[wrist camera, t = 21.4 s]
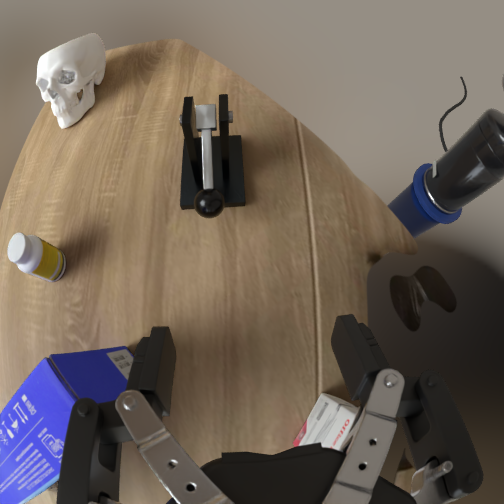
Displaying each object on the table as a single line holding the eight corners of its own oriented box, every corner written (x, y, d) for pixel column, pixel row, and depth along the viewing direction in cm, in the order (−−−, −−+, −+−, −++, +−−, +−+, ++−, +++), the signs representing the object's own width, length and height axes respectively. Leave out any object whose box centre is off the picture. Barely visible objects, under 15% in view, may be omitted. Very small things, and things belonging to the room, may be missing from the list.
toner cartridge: (45, 490, 22) (-8, 524, 4) (17, 455, 23) (-43, 478, 6) (169, 391, 31) (111, 441, 13) (127, 343, 32) (41, 349, 15)
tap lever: (225, 214, 34) (225, 220, 30) (196, 216, 33) (193, 221, 30) (222, 109, 30) (221, 102, 26) (192, 111, 30) (188, 104, 26)
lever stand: (244, 206, 39) (250, 146, 25) (181, 209, 38) (158, 152, 25) (240, 140, 42) (243, 75, 29) (185, 143, 41) (171, 80, 28)
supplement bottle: (68, 247, 35) (31, 225, 26) (65, 281, 34) (26, 266, 25) (44, 250, 35) (7, 230, 26) (41, 283, 34) (2, 269, 24)
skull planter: (35, 140, 39) (17, 59, 25) (75, 108, 52) (66, 44, 39) (86, 126, 40) (72, 33, 26) (121, 97, 53) (114, 28, 40)
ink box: (322, 452, 30) (353, 491, 18) (291, 443, 30) (314, 484, 19) (351, 401, 32) (395, 424, 20) (321, 390, 32) (358, 414, 21)
